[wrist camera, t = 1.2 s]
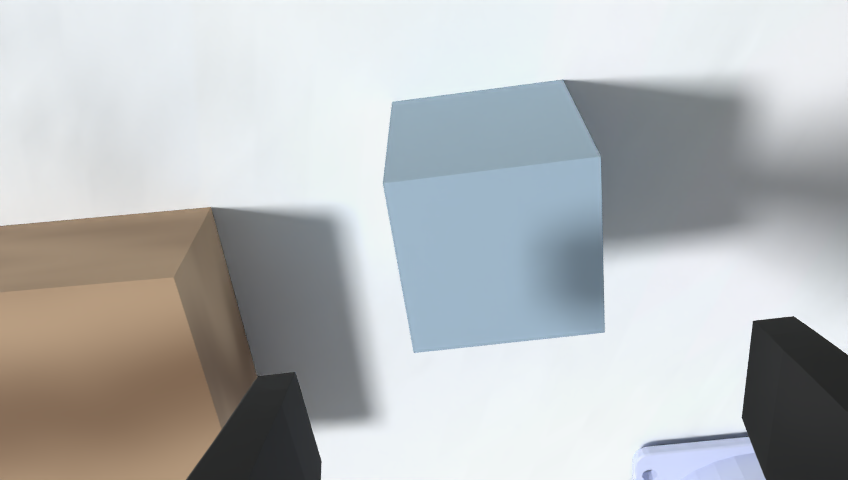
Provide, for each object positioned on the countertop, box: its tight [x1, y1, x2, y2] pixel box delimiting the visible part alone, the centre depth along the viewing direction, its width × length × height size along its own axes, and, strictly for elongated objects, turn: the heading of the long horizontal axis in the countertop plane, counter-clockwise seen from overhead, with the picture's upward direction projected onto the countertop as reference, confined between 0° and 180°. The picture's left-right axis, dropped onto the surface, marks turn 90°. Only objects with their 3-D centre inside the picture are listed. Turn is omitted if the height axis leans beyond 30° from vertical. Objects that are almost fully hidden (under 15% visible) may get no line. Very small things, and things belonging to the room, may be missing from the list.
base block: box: [0, 207, 257, 480], centre depth 22 cm, size 8×8×4 cm
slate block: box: [383, 80, 605, 353], centre depth 19 cm, size 4×4×5 cm
